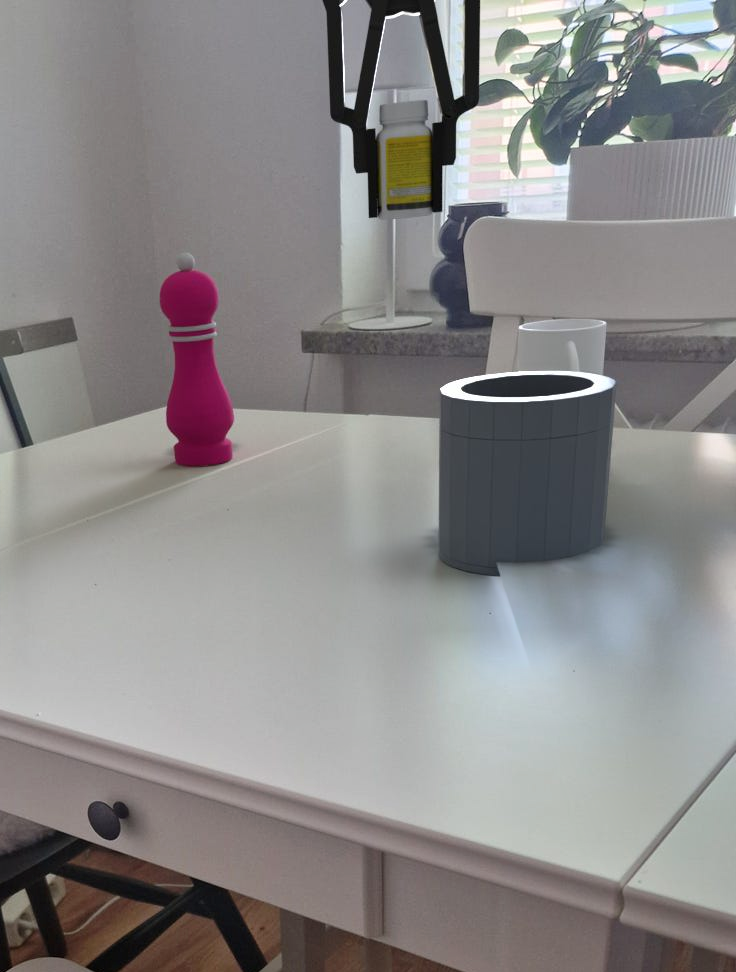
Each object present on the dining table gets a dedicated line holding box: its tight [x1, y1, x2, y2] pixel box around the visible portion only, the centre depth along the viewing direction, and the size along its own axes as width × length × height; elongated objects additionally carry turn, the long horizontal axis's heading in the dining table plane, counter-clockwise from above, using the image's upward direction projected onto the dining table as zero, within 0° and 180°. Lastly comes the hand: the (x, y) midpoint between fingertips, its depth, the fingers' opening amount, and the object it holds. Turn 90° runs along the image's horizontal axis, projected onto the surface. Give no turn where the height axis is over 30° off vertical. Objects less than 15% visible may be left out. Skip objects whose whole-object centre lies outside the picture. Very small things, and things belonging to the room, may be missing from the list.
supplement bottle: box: [376, 99, 433, 221], centre depth 98 cm, size 5×5×8 cm
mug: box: [516, 318, 608, 376], centre depth 111 cm, size 12×8×12 cm
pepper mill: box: [159, 252, 235, 468], centre depth 120 cm, size 7×7×20 cm
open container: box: [437, 371, 618, 577], centre depth 86 cm, size 12×12×12 cm
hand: (405, 213), depth 100 cm, fingers closed on supplement bottle, 5 cm apart
